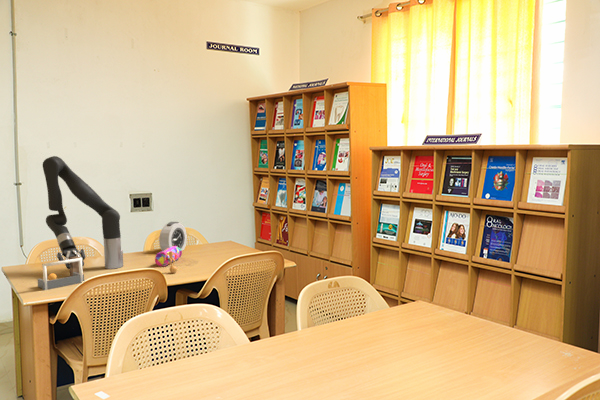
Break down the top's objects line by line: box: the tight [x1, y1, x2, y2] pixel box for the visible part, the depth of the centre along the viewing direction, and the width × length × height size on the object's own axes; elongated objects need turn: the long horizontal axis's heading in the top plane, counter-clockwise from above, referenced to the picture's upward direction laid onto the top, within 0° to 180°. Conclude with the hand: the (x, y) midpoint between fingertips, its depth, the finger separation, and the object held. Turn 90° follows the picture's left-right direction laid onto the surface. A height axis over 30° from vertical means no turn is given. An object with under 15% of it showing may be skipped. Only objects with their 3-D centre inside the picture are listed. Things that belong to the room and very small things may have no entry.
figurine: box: [165, 251, 180, 274], centre depth 271 cm, size 8×6×12 cm
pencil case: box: [154, 246, 183, 267], centre depth 296 cm, size 22×9×9 cm, turn 173°
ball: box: [47, 273, 58, 281], centre depth 256 cm, size 4×4×4 cm
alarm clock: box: [158, 221, 188, 252], centre depth 332 cm, size 21×8×20 cm, turn 160°
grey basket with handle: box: [37, 258, 85, 291], centre depth 248 cm, size 20×9×13 cm, turn 137°
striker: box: [68, 256, 80, 277], centre depth 267 cm, size 4×4×10 cm
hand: (76, 267), depth 266 cm, fingers open, 6 cm apart
